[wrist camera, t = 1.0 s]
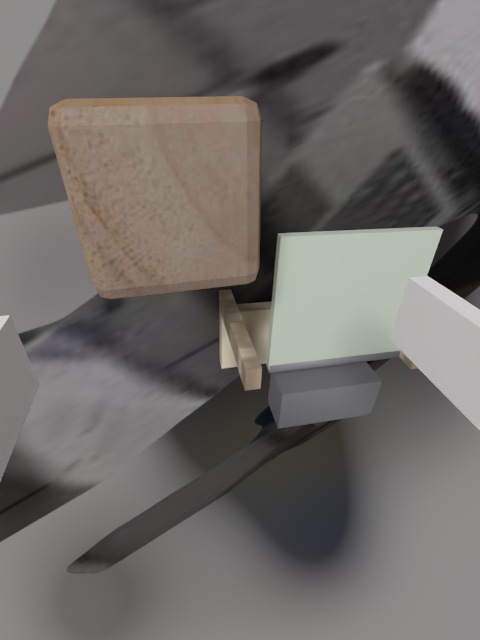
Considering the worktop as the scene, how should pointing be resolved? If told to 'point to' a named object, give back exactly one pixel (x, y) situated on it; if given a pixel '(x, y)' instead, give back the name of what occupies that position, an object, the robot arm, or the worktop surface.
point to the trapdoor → (337, 317)
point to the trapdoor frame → (248, 338)
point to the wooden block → (162, 190)
